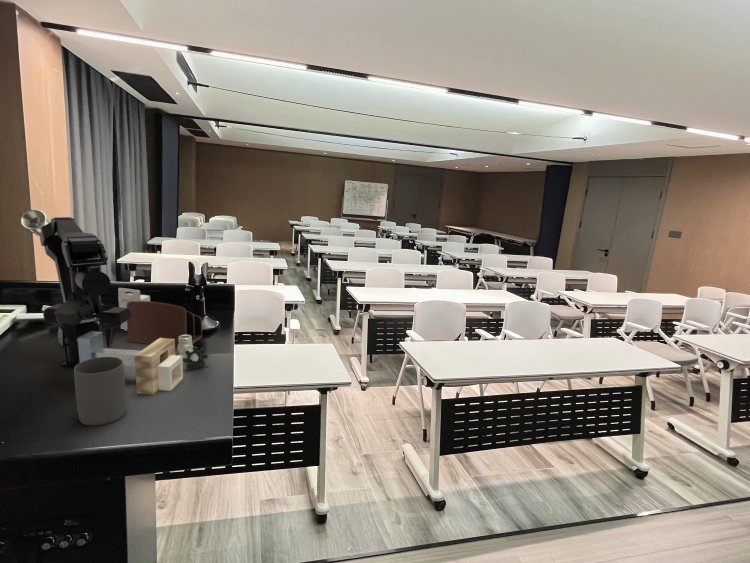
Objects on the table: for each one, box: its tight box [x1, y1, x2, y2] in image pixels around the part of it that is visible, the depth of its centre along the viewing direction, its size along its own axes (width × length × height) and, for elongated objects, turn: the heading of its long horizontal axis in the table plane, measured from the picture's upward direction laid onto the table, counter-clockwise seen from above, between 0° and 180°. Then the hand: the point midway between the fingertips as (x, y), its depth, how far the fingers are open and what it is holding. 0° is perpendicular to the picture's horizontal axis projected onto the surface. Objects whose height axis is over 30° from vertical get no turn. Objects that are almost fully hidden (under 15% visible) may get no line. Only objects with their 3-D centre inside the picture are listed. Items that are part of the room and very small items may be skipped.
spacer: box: [157, 354, 184, 392], centre depth 111 cm, size 3×7×6 cm, turn 179°
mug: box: [73, 357, 127, 426], centre depth 96 cm, size 14×9×12 cm
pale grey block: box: [78, 331, 141, 367], centre depth 110 cm, size 17×5×9 cm, turn 89°
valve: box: [177, 335, 209, 370], centre depth 124 cm, size 7×7×12 cm
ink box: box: [117, 287, 151, 331], centre depth 146 cm, size 9×5×15 cm, turn 81°
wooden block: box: [134, 338, 176, 396], centre depth 110 cm, size 4×12×10 cm, turn 179°
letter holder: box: [126, 300, 203, 349], centre depth 138 cm, size 10×20×14 cm, turn 83°
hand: (91, 346), depth 109 cm, fingers open, 9 cm apart
